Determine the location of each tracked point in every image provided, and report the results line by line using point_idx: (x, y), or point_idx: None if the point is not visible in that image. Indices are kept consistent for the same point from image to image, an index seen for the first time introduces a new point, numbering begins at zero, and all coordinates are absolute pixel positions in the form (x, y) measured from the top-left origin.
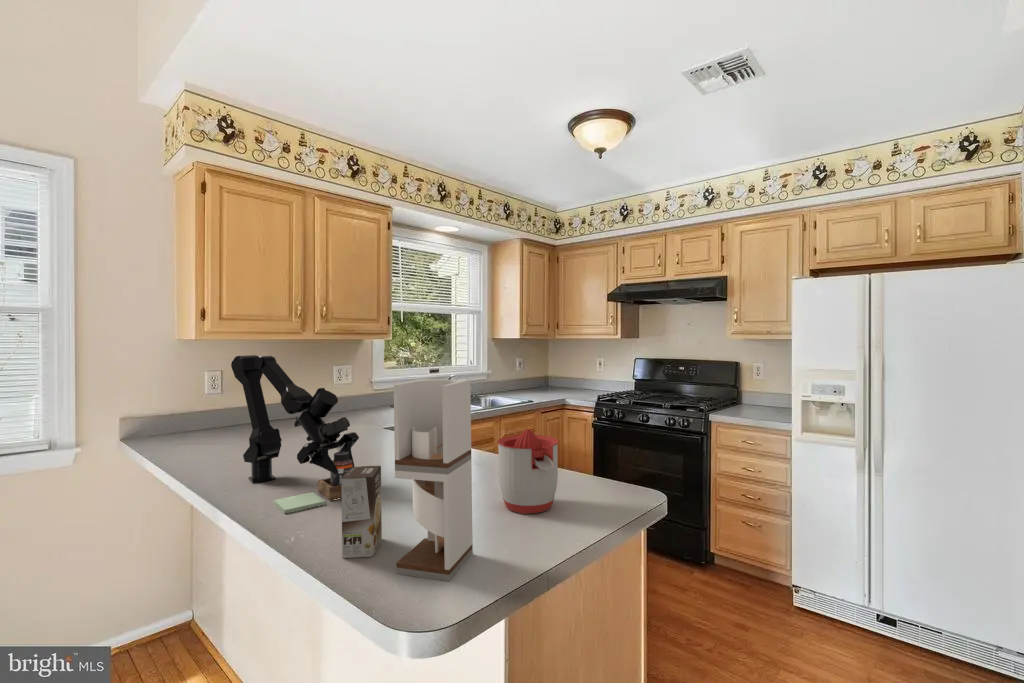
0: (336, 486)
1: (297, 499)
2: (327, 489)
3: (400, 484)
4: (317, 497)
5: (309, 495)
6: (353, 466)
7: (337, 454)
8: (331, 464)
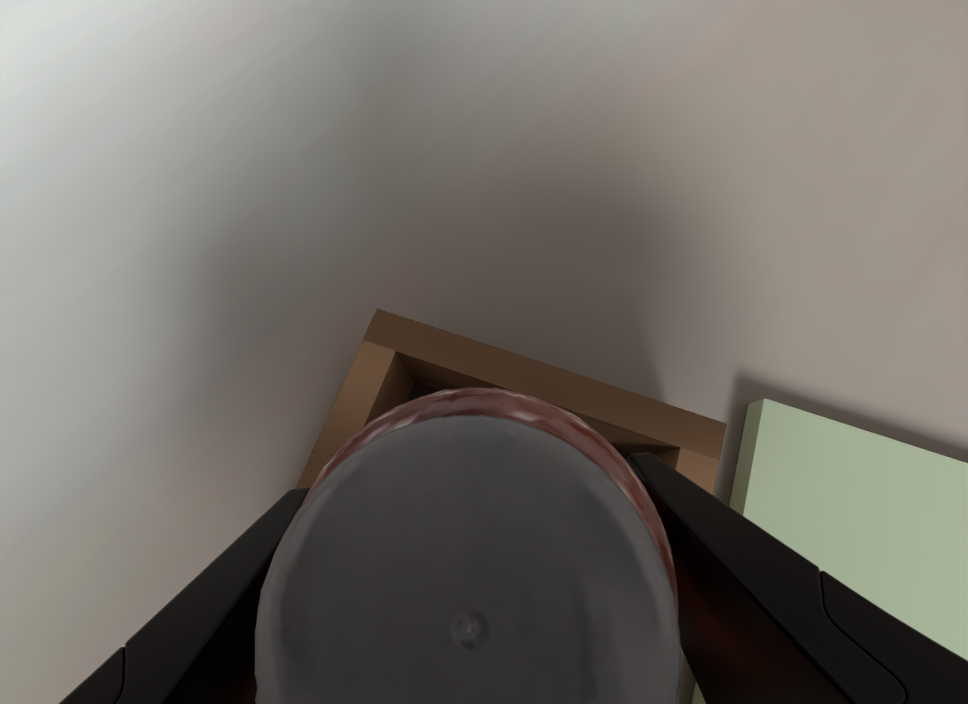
0: (651, 417)
1: None
2: None
3: (109, 285)
4: None
5: None
6: None
7: (655, 567)
8: (761, 529)
